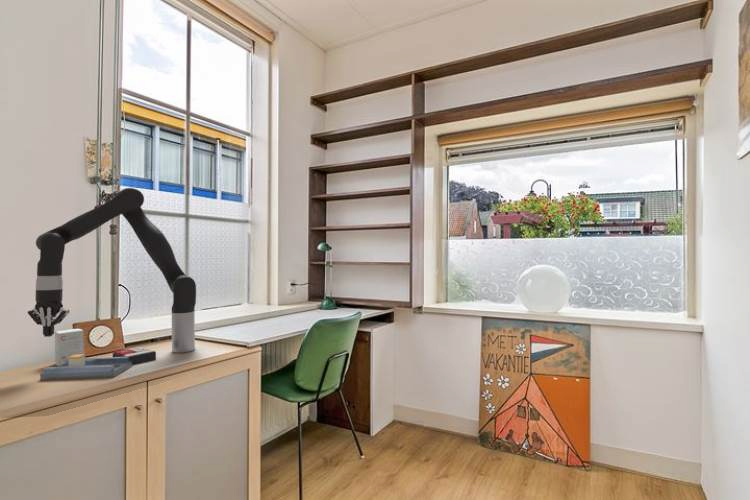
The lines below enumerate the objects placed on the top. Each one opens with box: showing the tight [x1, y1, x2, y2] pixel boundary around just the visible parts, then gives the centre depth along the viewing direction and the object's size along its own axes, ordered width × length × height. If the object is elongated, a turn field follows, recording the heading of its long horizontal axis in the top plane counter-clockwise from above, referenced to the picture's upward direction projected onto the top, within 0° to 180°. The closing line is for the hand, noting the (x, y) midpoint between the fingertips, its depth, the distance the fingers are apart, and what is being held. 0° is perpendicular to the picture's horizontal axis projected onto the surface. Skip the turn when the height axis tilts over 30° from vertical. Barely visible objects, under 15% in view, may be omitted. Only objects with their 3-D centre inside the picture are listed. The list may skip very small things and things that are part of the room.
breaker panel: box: [39, 356, 133, 381], centre depth 146 cm, size 13×24×4 cm, turn 96°
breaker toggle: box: [68, 353, 86, 367], centre depth 145 cm, size 4×4×4 cm
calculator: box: [112, 346, 157, 366], centre depth 163 cm, size 11×4×15 cm
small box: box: [54, 328, 85, 367], centre depth 158 cm, size 8×6×13 cm
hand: (48, 336), depth 144 cm, fingers closed
